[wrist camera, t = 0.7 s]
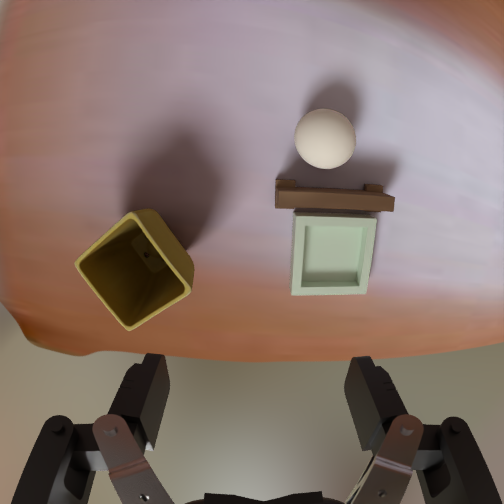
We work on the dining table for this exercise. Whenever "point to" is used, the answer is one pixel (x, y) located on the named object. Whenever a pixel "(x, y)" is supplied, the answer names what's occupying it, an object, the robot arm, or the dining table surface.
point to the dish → (331, 253)
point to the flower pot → (137, 268)
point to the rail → (332, 197)
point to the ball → (325, 138)
